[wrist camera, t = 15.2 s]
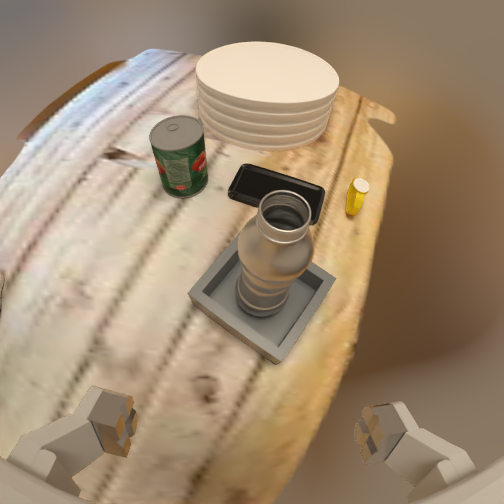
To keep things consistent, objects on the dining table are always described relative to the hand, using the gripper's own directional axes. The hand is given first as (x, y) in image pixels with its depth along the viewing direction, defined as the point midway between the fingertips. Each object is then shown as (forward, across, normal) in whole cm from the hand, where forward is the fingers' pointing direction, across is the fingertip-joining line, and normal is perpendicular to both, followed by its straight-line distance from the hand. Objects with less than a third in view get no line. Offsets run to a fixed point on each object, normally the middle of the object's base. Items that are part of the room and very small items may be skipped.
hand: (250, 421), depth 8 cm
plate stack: (+57, -2, -22) cm, 61 cm away
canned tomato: (+42, +11, -6) cm, 44 cm away
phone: (+41, -5, -5) cm, 41 cm away
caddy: (+29, -3, +8) cm, 30 cm away
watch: (+40, -18, -4) cm, 44 cm away
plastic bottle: (+28, -3, +8) cm, 29 cm away
